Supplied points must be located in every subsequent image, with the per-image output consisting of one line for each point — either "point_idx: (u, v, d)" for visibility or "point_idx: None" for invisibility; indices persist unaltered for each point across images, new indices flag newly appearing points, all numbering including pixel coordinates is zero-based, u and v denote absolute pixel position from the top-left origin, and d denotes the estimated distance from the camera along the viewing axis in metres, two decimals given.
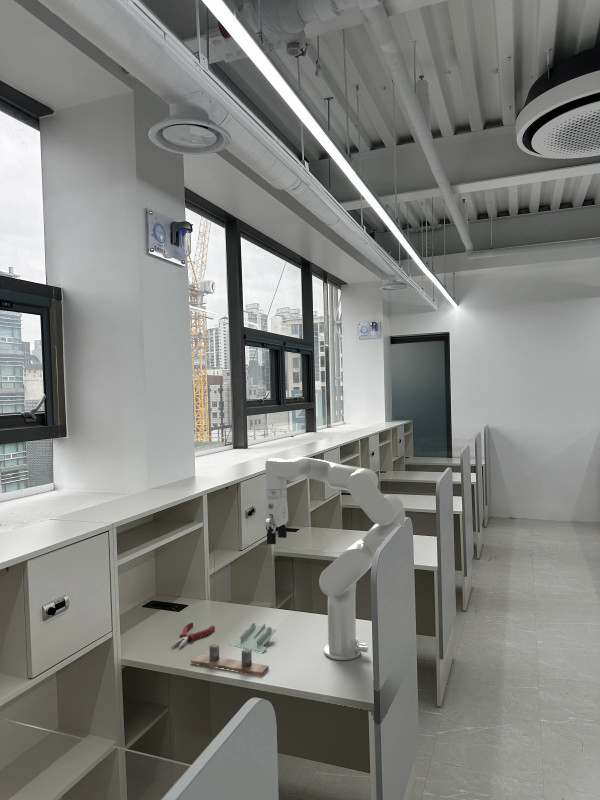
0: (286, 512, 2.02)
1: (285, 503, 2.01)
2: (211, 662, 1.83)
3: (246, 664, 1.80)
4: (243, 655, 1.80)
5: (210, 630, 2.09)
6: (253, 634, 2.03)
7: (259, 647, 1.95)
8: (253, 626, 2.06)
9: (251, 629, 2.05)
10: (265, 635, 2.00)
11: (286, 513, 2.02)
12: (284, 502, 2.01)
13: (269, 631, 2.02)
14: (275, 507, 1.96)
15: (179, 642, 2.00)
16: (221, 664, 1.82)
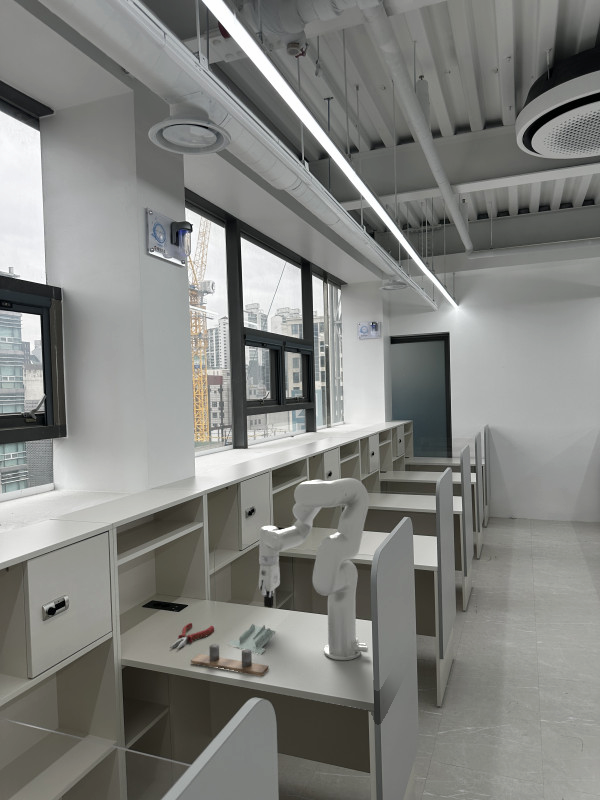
0: (278, 576, 2.16)
1: (277, 568, 2.15)
2: (211, 662, 1.83)
3: (246, 664, 1.80)
4: (243, 655, 1.80)
5: (209, 631, 2.09)
6: (252, 635, 2.02)
7: (258, 649, 1.94)
8: (253, 627, 2.05)
9: (250, 630, 2.04)
10: (264, 636, 1.99)
11: (278, 577, 2.16)
12: (276, 567, 2.14)
13: (268, 632, 2.01)
14: (267, 574, 2.09)
15: (178, 643, 2.00)
16: (221, 664, 1.82)
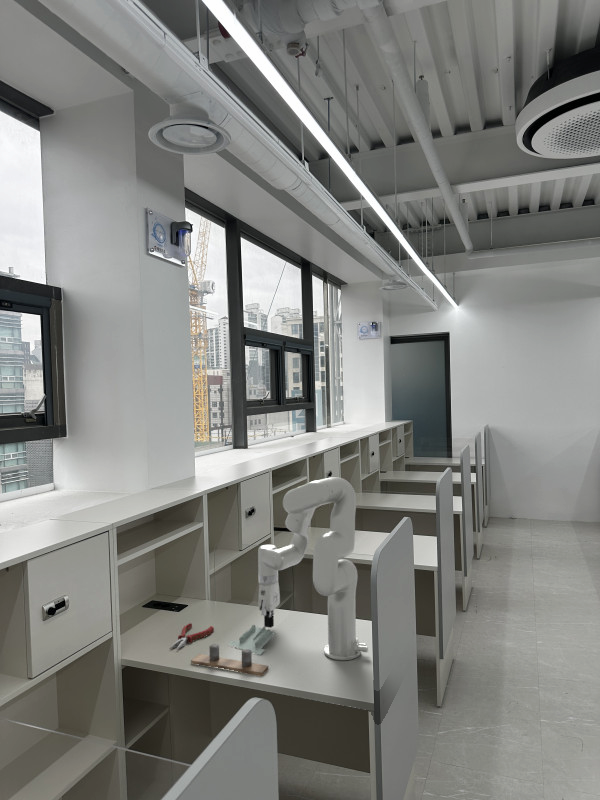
0: (278, 595, 2.14)
1: (276, 587, 2.13)
2: (211, 662, 1.83)
3: (246, 664, 1.80)
4: (243, 655, 1.80)
5: (209, 631, 2.08)
6: (252, 636, 2.01)
7: (257, 649, 1.93)
8: (253, 628, 2.05)
9: (251, 631, 2.04)
10: (264, 637, 1.98)
11: (278, 596, 2.14)
12: (276, 587, 2.12)
13: (268, 633, 2.00)
14: (267, 593, 2.07)
15: (178, 643, 1.99)
16: (221, 664, 1.82)
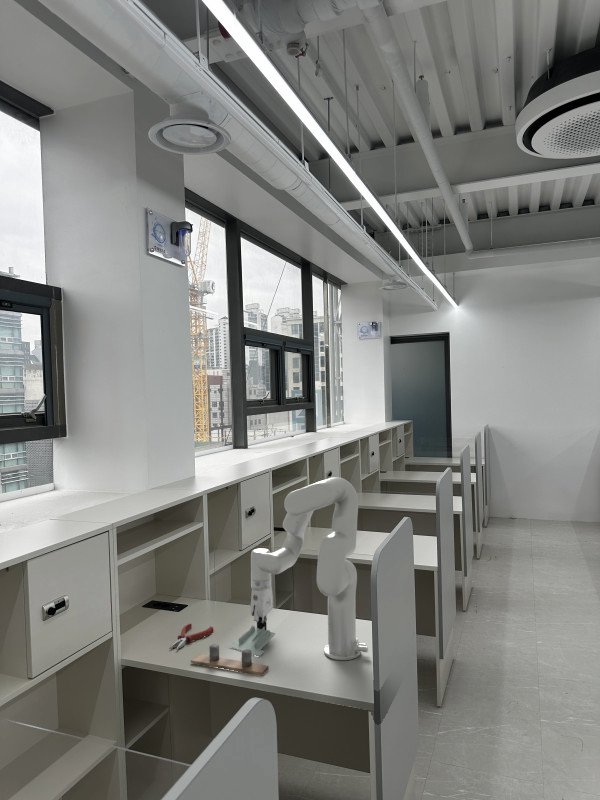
0: (271, 601, 2.08)
1: (270, 592, 2.07)
2: (211, 662, 1.83)
3: (246, 664, 1.80)
4: (243, 655, 1.80)
5: (208, 631, 2.08)
6: (252, 637, 2.00)
7: (256, 650, 1.92)
8: (252, 629, 2.03)
9: (250, 632, 2.02)
10: (263, 638, 1.97)
11: (271, 602, 2.08)
12: (269, 592, 2.07)
13: (268, 634, 1.99)
14: (259, 599, 2.02)
15: (177, 643, 1.99)
16: (221, 664, 1.82)
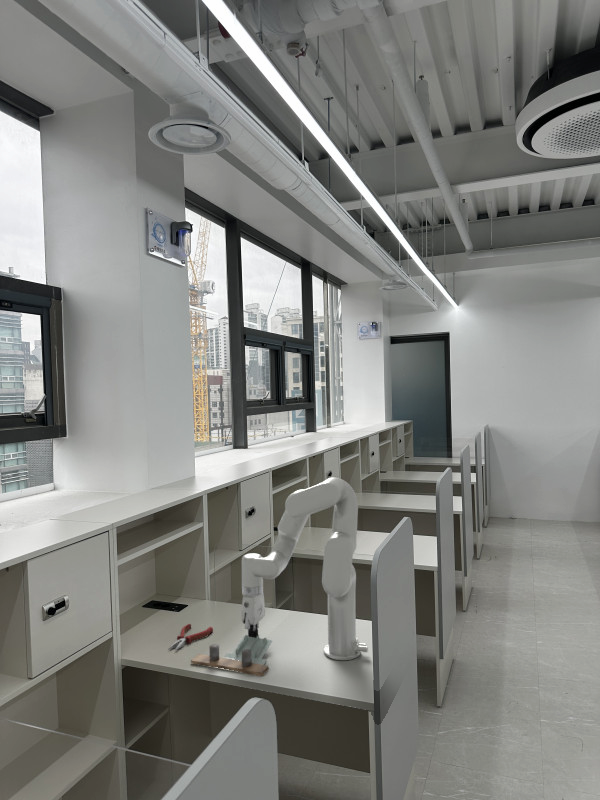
0: (262, 608, 2.01)
1: (261, 599, 2.00)
2: (211, 662, 1.83)
3: (246, 664, 1.80)
4: (243, 655, 1.80)
5: (208, 632, 2.08)
6: (248, 646, 1.93)
7: (258, 660, 1.86)
8: (246, 638, 1.96)
9: (245, 641, 1.95)
10: (262, 647, 1.91)
11: (262, 609, 2.01)
12: (260, 598, 2.00)
13: (265, 642, 1.93)
14: (251, 606, 1.95)
15: (176, 644, 1.99)
16: (221, 664, 1.82)
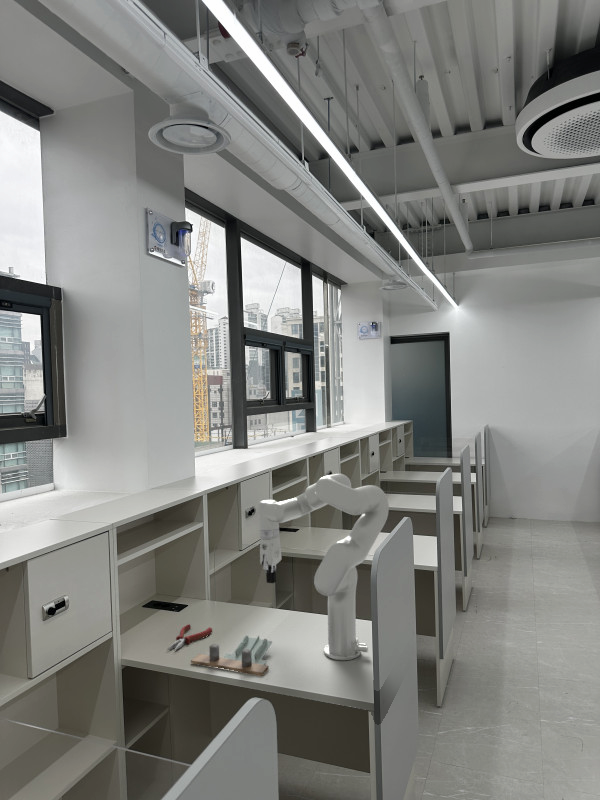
0: (279, 551, 2.11)
1: (278, 542, 2.10)
2: (211, 662, 1.83)
3: (246, 664, 1.80)
4: (243, 655, 1.80)
5: (207, 632, 2.07)
6: (248, 647, 1.92)
7: (257, 661, 1.85)
8: (246, 639, 1.95)
9: (245, 642, 1.94)
10: (262, 648, 1.90)
11: (279, 552, 2.11)
12: (277, 542, 2.10)
13: (265, 643, 1.92)
14: (268, 547, 2.05)
15: (175, 644, 1.98)
16: (221, 664, 1.82)
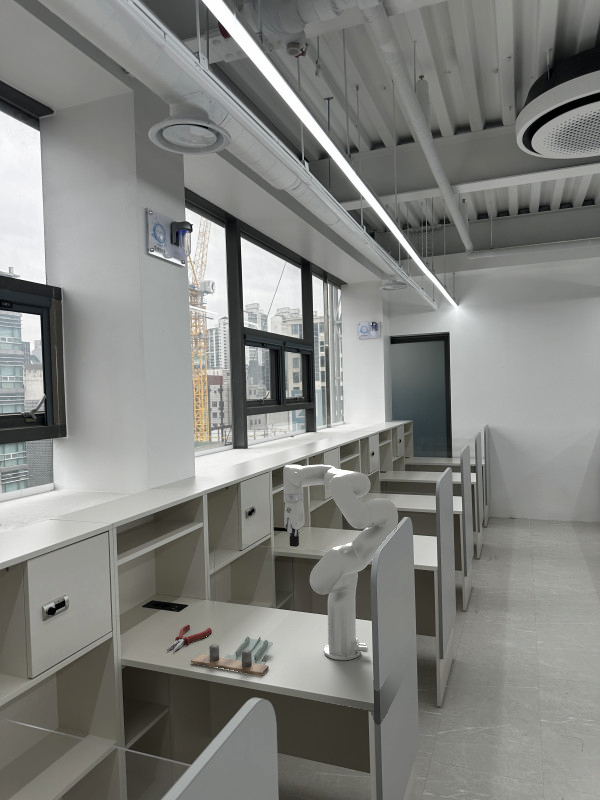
0: (303, 515, 2.13)
1: (302, 507, 2.12)
2: (211, 662, 1.83)
3: (246, 664, 1.80)
4: (243, 655, 1.80)
5: (206, 633, 2.07)
6: (248, 648, 1.91)
7: (257, 662, 1.84)
8: (248, 640, 1.94)
9: (246, 643, 1.93)
10: (262, 649, 1.89)
11: (303, 516, 2.13)
12: (301, 506, 2.11)
13: (266, 644, 1.91)
14: (293, 511, 2.06)
15: (175, 645, 1.98)
16: (221, 664, 1.82)
